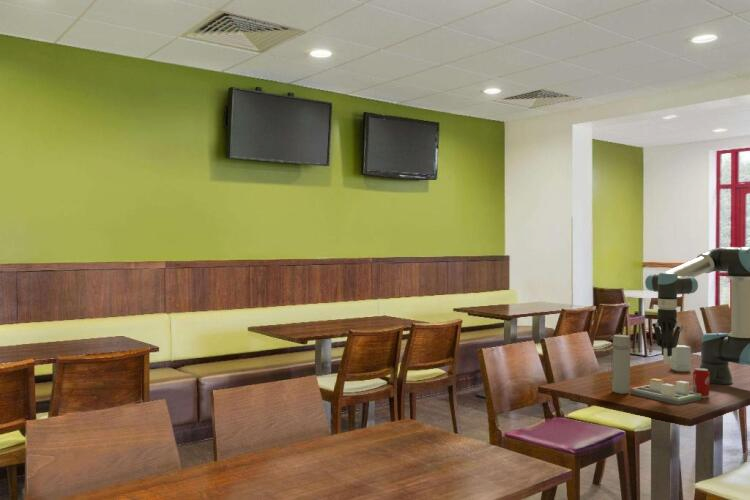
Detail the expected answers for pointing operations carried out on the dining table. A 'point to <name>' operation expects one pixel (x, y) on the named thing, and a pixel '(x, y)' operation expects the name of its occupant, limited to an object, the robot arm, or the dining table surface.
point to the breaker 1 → (668, 389)
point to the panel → (655, 394)
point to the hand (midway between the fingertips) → (666, 363)
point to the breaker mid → (656, 384)
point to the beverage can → (701, 382)
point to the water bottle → (620, 364)
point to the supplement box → (681, 358)
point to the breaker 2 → (683, 387)
